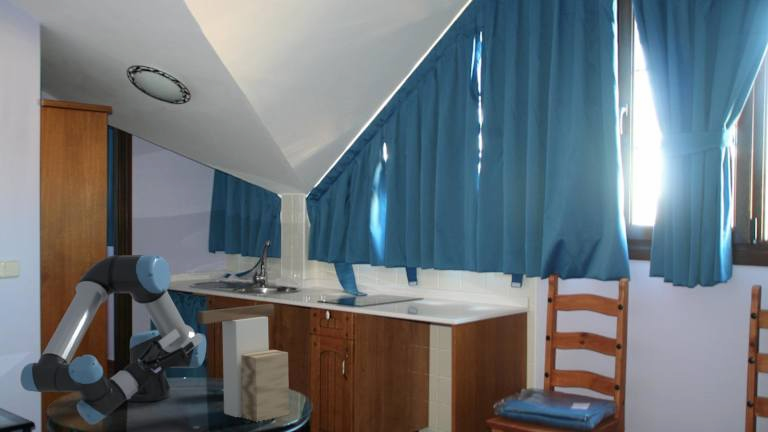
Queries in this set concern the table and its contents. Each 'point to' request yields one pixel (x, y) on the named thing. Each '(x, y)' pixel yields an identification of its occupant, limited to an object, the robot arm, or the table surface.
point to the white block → (237, 342)
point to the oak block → (265, 385)
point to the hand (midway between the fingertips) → (188, 334)
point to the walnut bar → (235, 313)
